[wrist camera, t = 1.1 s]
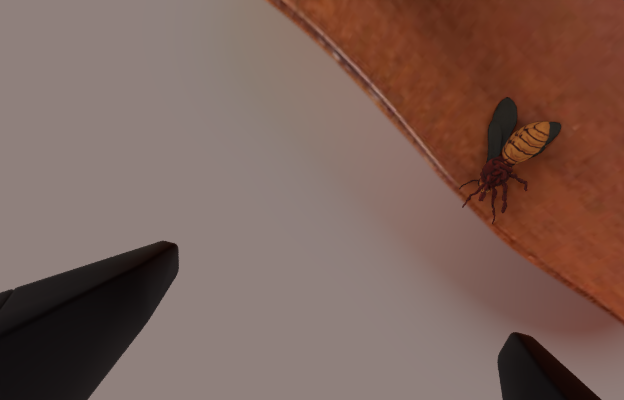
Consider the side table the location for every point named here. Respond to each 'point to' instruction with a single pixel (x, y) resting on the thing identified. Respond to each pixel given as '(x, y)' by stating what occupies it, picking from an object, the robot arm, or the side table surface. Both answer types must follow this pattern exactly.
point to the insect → (510, 149)
